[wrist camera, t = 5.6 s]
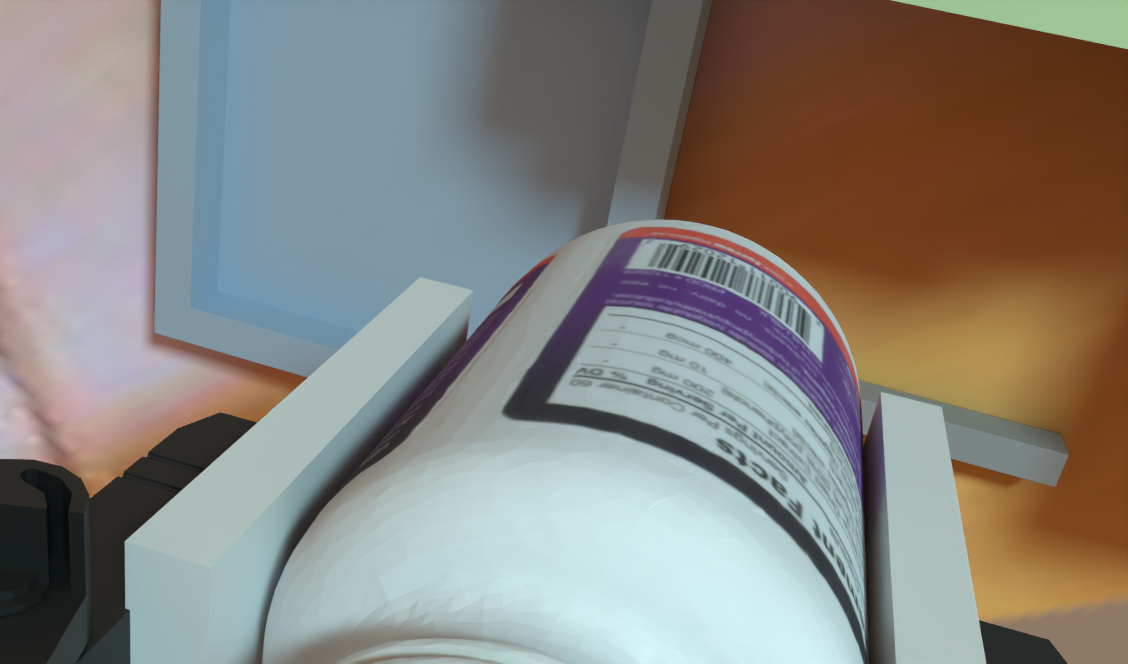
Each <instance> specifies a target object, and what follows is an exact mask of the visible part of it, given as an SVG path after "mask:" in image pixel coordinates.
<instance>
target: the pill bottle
mask: <svg viewBox="0 0 1128 664" xmlns="http://www.w3.org/2000/svg"><path fill="white" fill-rule="evenodd" d="M262 664H869V643H868V617H867V581H866V552H865V520H864V473H863V422H862V406H861V398H860V390H859V381H858V376H857V372H856V367H855V363H854V360H853V357H852V354H851V351H850V348H849V345H848V343H847V340H846V338H845V336H844V334H843V331H842V329H841V327H840V326H839V324H838V322H837V320H836V319H835V317H834V315H833V314H832V312H831V311H830V309H829V308H828V306H827V305H826V304H825V302H824V301H823V299H822V298H821V297H820V295H819V294H818V293H817V292H816V291H815V290H814V289H813V287H812V286H811V285H810V284H809V283H808V282H807V281H806V280H805V279H804V278H803V277H802V276H801V275H800V274H799V273H797V272H796V271H795V270H794V269H793V268H792V267H791V266H789V265H788V264H787V263H786V262H784V261H783V260H782V259H781V258H779V257H778V256H776V255H775V254H773V253H771V252H770V251H768V250H767V249H765V248H763V247H762V246H760V245H758V244H756V243H755V242H753V241H751V240H749V239H746V238H744V237H742V236H740V235H737V234H735V233H732V232H730V231H727V230H724V229H720V228H717V227H713V226H710V225H705V224H700V223H695V222H689V221H681V220H642V221H631V222H626V223H620V224H615V225H611V226H607V227H604V228H600V229H597V230H594V231H592V232H589V233H587V234H585V235H582V236H580V237H578V238H576V239H574V240H572V241H570V242H569V243H567V244H565V245H563V246H562V247H560V248H559V249H557V250H556V251H554V252H553V253H551V254H550V255H548V256H547V257H546V258H544V259H543V260H541V261H540V262H539V263H538V264H537V265H535V266H534V267H533V268H532V269H531V270H530V271H529V272H528V273H526V274H525V275H524V276H523V277H522V278H521V279H520V280H519V281H518V282H517V283H516V284H515V285H513V286H512V287H511V289H510V290H509V291H508V292H507V293H506V294H505V295H504V297H503V298H502V299H501V300H500V301H499V303H498V304H497V305H496V307H495V308H494V309H493V310H492V311H491V312H490V313H489V315H488V316H487V317H486V319H485V320H484V321H483V322H482V323H481V324H480V326H479V327H478V328H477V329H476V330H475V332H474V333H473V334H472V335H471V336H470V338H469V339H468V340H467V341H466V342H465V343H464V345H463V346H462V347H461V348H460V349H459V350H458V352H457V353H456V354H455V355H454V356H453V358H452V359H451V360H450V361H449V362H448V363H447V365H446V366H445V367H444V368H443V369H442V370H441V372H440V373H439V374H438V375H437V376H436V378H435V379H434V380H433V381H432V382H431V383H430V384H429V385H428V387H427V388H426V389H425V390H424V391H423V392H422V393H421V395H420V396H419V397H418V398H417V399H416V400H415V401H414V403H413V404H412V405H411V406H410V407H409V408H408V409H407V411H406V412H405V413H404V414H403V415H402V417H401V418H400V419H399V420H398V421H397V422H396V424H395V425H394V426H393V427H392V428H391V430H390V431H389V432H388V433H387V434H386V435H385V437H384V438H383V439H382V440H381V441H380V442H379V444H378V445H377V446H376V447H375V448H374V449H373V451H372V452H371V453H370V454H369V455H368V456H367V458H366V459H365V460H364V461H363V462H362V463H361V465H360V466H359V467H358V468H357V469H356V470H355V472H354V473H353V474H352V475H351V476H350V477H349V479H348V480H347V481H346V482H345V483H344V484H343V485H342V486H341V487H340V488H339V489H338V490H337V491H336V493H335V494H334V495H333V496H332V498H331V499H330V500H329V502H328V503H327V504H326V505H325V507H324V508H323V509H322V510H321V512H320V513H319V514H318V516H317V517H316V519H315V521H314V522H313V523H312V525H311V526H310V527H309V529H308V530H307V532H306V533H305V535H304V536H303V538H302V539H301V540H300V542H299V543H298V545H297V546H296V548H295V549H294V551H293V553H292V555H291V556H290V558H289V560H288V562H287V564H286V566H285V568H284V570H283V573H282V575H281V577H280V580H279V582H278V584H277V587H276V589H275V592H274V596H273V599H272V603H271V606H270V610H269V614H268V617H267V623H266V629H265V636H264V647H263V658H262Z"/></svg>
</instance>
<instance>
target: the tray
mask: <svg viewBox="0 0 1128 664" xmlns="http://www.w3.org/2000/svg"><path fill="white" fill-rule="evenodd" d="M712 1H713V0H161V22H160V72H159V122H158V172H157V222H156V273H155V323H154V333H157V334H160V335H163V336H167V337H170V338H174V339H177V340H181V341H184V342H187V343H191V344H194V345H198V346H201V347H205V348H208V349H211V350H215V351H218V352H222V353H225V354H229V355H232V356H235V357H239V358H242V359H246V360H249V361H253V362H256V363H259V364H263V365H266V366H270V367H273V368H277V369H280V370H283V371H287V372H290V373H294V374H297V375H301V376H304V377H307V378H308V377H309V376H310V375H311V374H312V373H313V372H315V371H316V370H317V369H318V368H319V367H320V366H321V365H322V364H324V363H325V362H326V361H327V360H328V359H329V358H330V357H331V356H333V355H334V354H335V353H336V352H337V351H338V350H339V349H340V348H341V347H343V346H344V345H345V344H346V343H347V342H348V341H349V340H350V339H352V338H353V337H354V336H355V335H356V334H357V333H358V332H359V331H360V330H362V329H363V328H364V327H365V326H366V325H367V324H368V323H369V322H371V321H372V320H373V319H374V318H375V317H376V316H377V315H378V314H379V313H381V312H382V311H383V310H384V309H385V308H386V307H387V306H388V305H390V304H391V303H392V302H393V301H394V300H395V299H396V298H397V297H398V296H400V295H401V294H402V293H403V292H404V291H405V290H406V289H407V288H409V287H410V286H411V285H412V284H413V283H414V282H415V281H416V280H417V279H419V278H420V277H422V278H426V279H430V280H434V281H438V282H442V283H446V284H450V285H454V286H458V287H462V288H466V289H470V290H473V296H472V304H471V311H470V318H469V326H468V333H467V340H468V339H469V338H470V336H471V335H472V334H473V333H474V332H475V330H476V329H477V328H478V327H479V326H480V324H481V323H482V322H483V321H484V320H485V319H486V317H487V316H488V315H489V313H490V312H491V311H492V310H493V309H494V308H495V307H496V305H497V304H498V303H499V301H500V300H501V299H502V298H503V297H504V295H505V294H506V293H507V292H508V291H509V290H510V289H511V287H512V286H513V285H515V284H516V283H517V282H518V281H519V280H520V279H521V278H522V277H523V276H524V275H525V274H526V273H528V272H529V271H530V270H531V269H532V268H533V267H534V266H535V265H537V264H538V263H539V262H540V261H541V260H543V259H544V258H546V257H547V256H548V255H550V254H551V253H553V252H554V251H556V250H557V249H559V248H560V247H562V246H563V245H565V244H567V243H569V242H570V241H572V240H574V239H576V238H578V237H580V236H582V235H585V234H587V233H589V232H592V231H594V230H597V229H600V228H604V227H607V226H611V225H615V224H620V223H626V222H631V221H642V220H664V216H665V212H666V207H667V203H668V198H669V194H670V189H671V185H672V181H673V176H674V172H675V167H676V163H677V158H678V154H679V149H680V145H681V140H682V136H683V131H684V127H685V122H686V118H687V113H688V109H689V104H690V100H691V95H692V91H693V87H694V82H695V78H696V73H697V69H698V64H699V60H700V55H701V51H702V46H703V42H704V37H705V33H706V28H707V24H708V19H709V15H710V10H711V6H712ZM467 340H466V341H467Z"/></svg>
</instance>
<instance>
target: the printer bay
mask: <svg viewBox="0 0 1128 664" xmlns="http://www.w3.org/2000/svg"><path fill="white" fill-rule="evenodd" d="M892 1H897V2H902V3H907V4H911V5H916V6H921V7H926V8H931V9H936V10H940V11H945V12H950V13H955V14H960V15H965V16H970V17H974V18H979V19H984V20H989V21H994V22H999V23H1003V24H1008V25H1013V26H1018V27H1023V28H1028V29H1032V30H1037V31H1042V32H1047V33H1052V34H1057V35H1062V36H1066V37H1071V38H1076V39H1081V40H1086V41H1091V42H1095V43H1100V44H1105V45H1110V46H1115V47H1120V48H1124V49H1128V0H892ZM858 381H859V380H858ZM859 390H860V398H861V406H862V422H863V434H864V435H867V433H868V430H869V427H870V424H871V421H872V418H873V415H874V411H875V408H876V405H877V402H878V399H879V396H880V393H881V392H884V393H888V394H892V395H896V396H900V397H904V398H908V399H912V400H916V401H920V402H924V403H928V404H932V405H936V406H940V407H942V411H943V417H944V422H945V428H946V434H947V440H948V445H949V451H950V457H951V459H954V460H958V461H962V462H965V463H969V464H972V465H976V466H980V467H983V468H987V469H991V470H994V471H998V472H1002V473H1005V474H1009V475H1012V476H1016V477H1020V478H1023V479H1027V480H1031V481H1034V482H1038V483H1041V484H1045V485H1049V486H1052V487H1056V484H1057V482H1058V480H1059V477H1060V475H1061V473H1062V470H1063V468H1064V466H1065V463H1066V461H1067V459H1068V456H1069V454H1068V451H1067V448H1066V445H1065V442H1064V440H1063V437H1062V435H1061V434H1058V433H1054V432H1050V431H1046V430H1043V429H1039V428H1035V427H1031V426H1028V425H1024V424H1020V423H1016V422H1013V421H1009V420H1005V419H1001V418H998V417H994V416H990V415H986V414H983V413H979V412H975V411H971V410H968V409H964V408H960V407H956V406H953V405H949V404H945V403H941V402H938V401H934V400H930V399H927V398H923V397H919V396H915V395H912V394H908V393H904V392H900V391H897V390H893V389H889V388H885V387H882V386H878V385H874V384H870V383H867V382H863V381H859Z"/></svg>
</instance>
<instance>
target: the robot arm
mask: <svg viewBox="0 0 1128 664" xmlns="http://www.w3.org/2000/svg"><path fill="white" fill-rule="evenodd" d="M472 296H473V290H470V289H466V288H462V287H458V286H454V285H450V284H446V283H442V282H438V281H434V280H430V279H426V278H422V277H420V278H419V279H417V280H416V281H415V282H414V283H413V284H412V285H411V286H410V287H409V288H407V289H406V290H405V291H404V292H403V293H402V294H401V295H400V296H398V297H397V298H396V299H395V300H394V301H393V302H392V303H391V304H390V305H388V306H387V307H386V308H385V309H384V310H383V311H382V312H381V313H379V314H378V315H377V316H376V317H375V318H374V319H373V320H372V321H371V322H369V323H368V324H367V325H366V326H365V327H364V328H363V329H362V330H360V331H359V332H358V333H357V334H356V335H355V336H354V337H353V338H352V339H350V340H349V341H348V342H347V343H346V344H345V345H344V346H343V347H341V348H340V349H339V350H338V351H337V352H336V353H335V354H334V355H333V356H331V357H330V358H329V359H328V360H327V361H326V362H325V363H324V364H322V365H321V366H320V367H319V368H318V369H317V370H316V371H315V372H313V373H312V374H311V375H310V376H309V377H308V378H307V379H306V380H305V381H303V382H302V383H301V384H300V385H299V386H298V387H297V388H296V389H294V390H293V391H292V392H291V393H290V394H289V395H288V396H287V397H286V398H284V399H283V400H282V401H281V402H280V403H279V404H278V405H277V406H275V407H274V408H273V409H272V410H271V411H270V412H269V413H268V414H267V415H265V416H264V417H263V418H262V419H261V420H260V421H259V422H258V423H256V422H253V421H249V420H246V419H242V418H238V417H235V416H231V415H228V414H224V413H218V414H215V415H212V416H210V417H207V418H204V419H202V420H199V421H196V422H194V423H191V424H188V425H186V426H183V427H180V428H178V429H177V430H176V431H174V432H173V433H172V434H170V435H169V436H168V437H167V438H165V439H164V440H163V441H162V442H160V443H159V444H158V445H157V446H155V447H154V448H153V449H152V450H150V451H149V452H148V456H147V458H146V457H142V458H140V459H139V460H138V461H137V462H135V463H134V464H133V465H132V466H130V467H129V468H128V469H127V470H125V471H124V474H123V477H122V478H121V477H117V478H115V479H114V480H113V481H112V482H110V483H109V484H108V485H107V486H105V487H104V488H103V489H102V490H100V491H99V492H98V493H97V494H95V495H94V496H93V497H91V498H90V499H89V494H88V492H87V490H86V488H85V486H84V484H83V482H82V480H81V478H79V477H78V476H76V475H74V474H73V473H71V472H70V471H68V470H66V469H65V468H63V467H62V466H58V465H53V464H49V463H45V462H41V461H37V460H24V459H0V664H262V658H263V647H264V636H265V629H266V623H267V617H268V614H269V610H270V606H271V603H272V599H273V596H274V592H275V589H276V587H277V584H278V582H279V580H280V577H281V575H282V573H283V570H284V568H285V566H286V564H287V562H288V560H289V558H290V556H291V555H292V553H293V551H294V549H295V548H296V546H297V545H298V543H299V542H300V540H301V539H302V538H303V536H304V535H305V533H306V532H307V530H308V529H309V527H310V526H311V525H312V523H313V522H314V521H315V519H316V517H317V516H318V514H319V513H320V512H321V510H322V509H323V508H324V507H325V505H326V504H327V503H328V502H329V500H330V499H331V498H332V496H333V495H334V494H335V493H336V491H337V490H338V489H339V488H340V487H341V486H342V485H343V484H344V483H345V482H346V481H347V480H348V479H349V477H350V476H351V475H352V474H353V473H354V472H355V470H356V469H357V468H358V467H359V466H360V465H361V463H362V462H363V461H364V460H365V459H366V458H367V456H368V455H369V454H370V453H371V452H372V451H373V449H374V448H375V447H376V446H377V445H378V444H379V442H380V441H381V440H382V439H383V438H384V437H385V435H386V434H387V433H388V432H389V431H390V430H391V428H392V427H393V426H394V425H395V424H396V422H397V421H398V420H399V419H400V418H401V417H402V415H403V414H404V413H405V412H406V411H407V409H408V408H409V407H410V406H411V405H412V404H413V403H414V401H415V400H416V399H417V398H418V397H419V396H420V395H421V393H422V392H423V391H424V390H425V389H426V388H427V387H428V385H429V384H430V383H431V382H432V381H433V380H434V379H435V378H436V376H437V375H438V374H439V373H440V372H441V370H442V369H443V368H444V367H445V366H446V365H447V363H448V362H449V361H450V360H451V359H452V358H453V356H454V355H455V354H456V353H457V352H458V350H459V349H460V348H461V347H462V346H463V345H464V343H465V342H466V340H467V333H468V326H469V318H470V311H471V304H472ZM863 473H864V520H865V552H866V581H867V617H868V643H869V664H1067V663H1066V661H1065V660H1064V659H1063V657H1062V656H1061V655H1060V653H1059V652H1058V651H1057V650H1056V649H1055V647H1054V646H1053V645H1052V643H1051V642H1050V641H1049V640H1048V639H1044V638H1040V637H1036V636H1033V635H1029V634H1026V633H1022V632H1019V631H1015V630H1012V629H1008V628H1004V627H1001V626H997V625H994V624H990V623H987V622H983V621H979V618H978V613H977V607H976V601H975V595H974V590H973V584H972V578H971V572H970V567H969V561H968V555H967V549H966V543H965V538H964V532H963V526H962V520H961V515H960V509H959V503H958V497H957V492H956V486H955V480H954V474H953V469H952V463H951V457H950V451H949V445H948V440H947V434H946V428H945V422H944V417H943V411H942V407H940V406H936V405H932V404H928V403H924V402H920V401H916V400H912V399H908V398H904V397H900V396H896V395H892V394H888V393H884V392H881V393H880V396H879V399H878V402H877V405H876V408H875V411H874V415H873V418H872V421H871V424H870V427H869V430H868V433H867V436H866V440H865V443H864V446H863Z"/></svg>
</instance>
